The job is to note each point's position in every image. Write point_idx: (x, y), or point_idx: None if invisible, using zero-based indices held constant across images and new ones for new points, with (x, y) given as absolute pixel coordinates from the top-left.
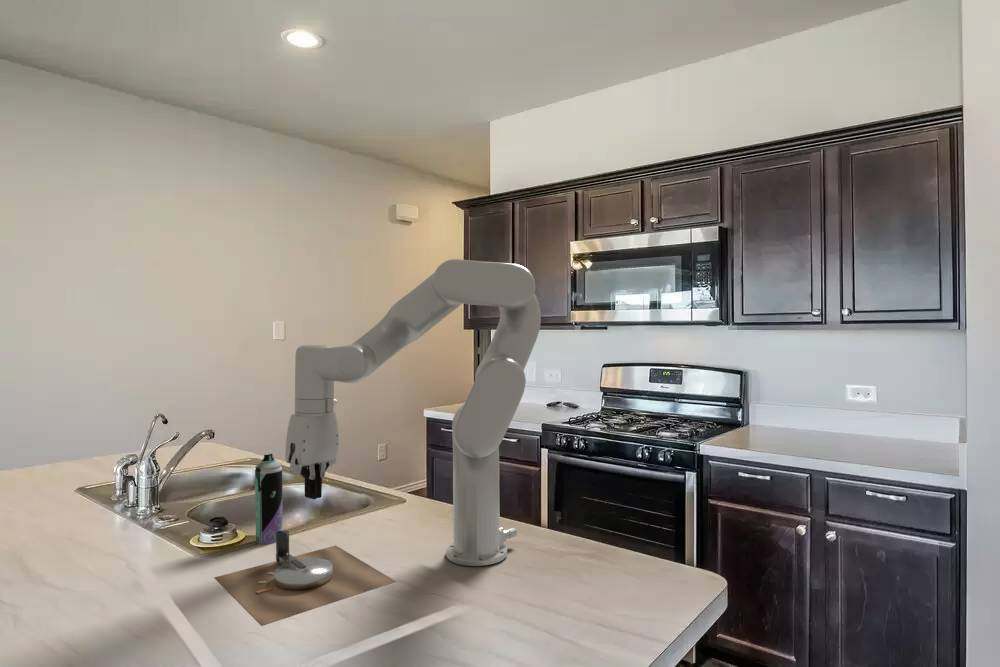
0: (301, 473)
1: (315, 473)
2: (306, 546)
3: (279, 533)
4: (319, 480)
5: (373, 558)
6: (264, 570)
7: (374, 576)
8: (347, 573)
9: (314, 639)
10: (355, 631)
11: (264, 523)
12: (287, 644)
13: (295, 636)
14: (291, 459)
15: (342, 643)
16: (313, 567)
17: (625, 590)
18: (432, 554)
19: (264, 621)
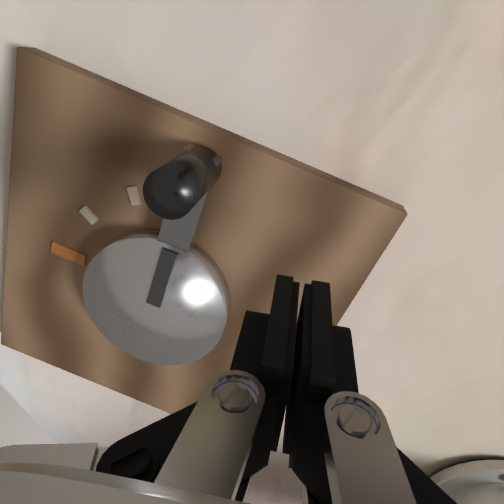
0: (158, 437)
1: (305, 461)
2: (428, 53)
3: (154, 191)
4: (288, 453)
5: (395, 327)
6: (139, 154)
7: None
8: None
9: (63, 401)
10: (114, 435)
11: None
12: (29, 378)
13: (48, 375)
14: None
15: (82, 434)
16: (169, 324)
17: None
18: (469, 432)
19: (9, 339)
